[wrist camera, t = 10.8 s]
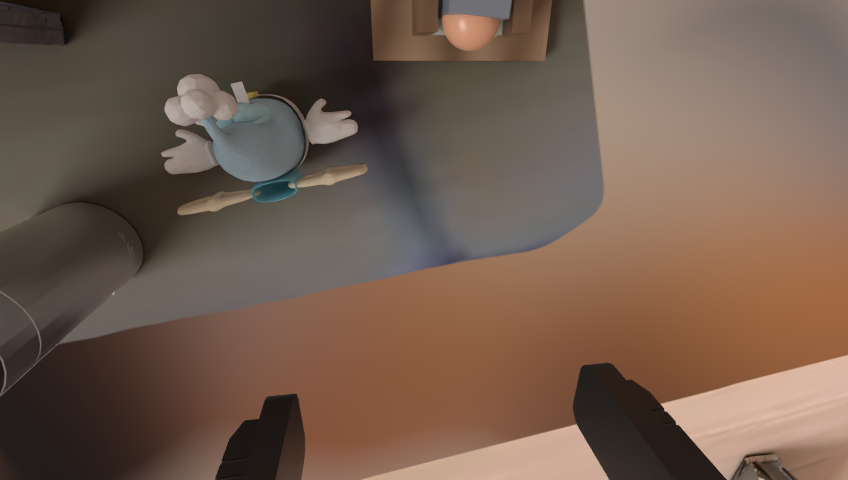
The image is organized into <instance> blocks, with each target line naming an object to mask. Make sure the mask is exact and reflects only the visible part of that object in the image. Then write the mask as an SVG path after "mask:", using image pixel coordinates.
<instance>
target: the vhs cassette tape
mask: <svg viewBox="0 0 848 480" xmlns="http://www.w3.org/2000/svg"><path fill="white" fill-rule="evenodd" d="M60 17H61V14H60V13H54V12H48V11H43V10H39V9H36V8H29V7H25V6H21V5H16V4H11V3H6V2H2V1H0V43H13V44H38V45H59V46H64V45H65V42H64V29H63V26H62V24H61V21H60Z"/></svg>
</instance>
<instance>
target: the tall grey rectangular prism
mask: <svg viewBox="0 0 848 480" xmlns="http://www.w3.org/2000/svg"><path fill="white" fill-rule="evenodd" d="M511 2H512V0H439V3H438V20H442V25H443V30H444V33H445V35H446V37H447V39H448V40H449V41H450V43H451V44H452V45H453V46H455V47H456V48H458V49H461V50H464V51H475V50H479V49H481V48H483V47H485V46H486V45H487V44H488V43H489V42H490V41H491V40H492V39H493V38H494V36H495V35H496V33H497V30H498V28H499V24H500V21H503V20H506V19H509V16H510V9H511Z"/></svg>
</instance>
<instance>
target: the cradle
mask: <svg viewBox="0 0 848 480" xmlns="http://www.w3.org/2000/svg"><path fill="white" fill-rule="evenodd" d="M370 2H371V23H372V44H373V61H545V57H546V48H547V40H548V31H549V22H550V14H551V5H552V0H512V2H511V9H510V16H509V19H506V20H503V21H500V24H499V28H498V30H497V33H496V35H495V36H494V38H493V39H492V40H491V41H490V42H489V43H488V44H487V45H486V46H485V47H483V48H481V49H479V50H475V51H464V50H461V49H458V48H456V47H455V46H453V45H452V44H451V43H450V41H449V40H448V39H447V37H446V35H445V33H444V30H443V25H442V20H438V3H439V0H370Z"/></svg>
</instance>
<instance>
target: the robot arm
mask: <svg viewBox="0 0 848 480" xmlns="http://www.w3.org/2000/svg"><path fill="white" fill-rule="evenodd" d="M142 261H143V247H142V243H141V241H140V238H139V236H138V234H137V233H136V231H135V230H134V229H133V227H132V226H131V225H130V224H129V223H128V222H127V221H126V220H125V219H124V218H122V217H121V216H119V215H118V214H116V213H115V212H113V211H111V210H109V209H107V208H104V207H102V206H98V205H95V204H90V203H83V202H76V203H67V204H63V205H59V206H57V207H55V208H53V209H51V210H48V211H46V212H44V213H42V214H40V215H37V216H35V217H33V218H31V219H29V220H26V221H24V222H22V223H20V224H17V225H15V226H13V227H11V228H9V229H6V230H4V231H2V232H0V396H1V395H2V394H3V393H4V392H6V391H7V390H8V389H9V388H10V387H11V386H12V385H13V384H14V383H15V382H17V381H18V380H19V379H20V378H21V377H22V376H23V375H24V374H25V373H26V372H28V371H29V370H30V369H31V368H32V367H33V366H34V365H35V364H36V363H37V362H38V361H40V360H41V359H42V358H43V357H44V356H45V355H46V354H47V353H48V352H49V351H51V350H52V349H53V348H54V347H55V346H56V345H57V344H58V343H59V342H61V341H62V340H63V339H64V338H65V337H66V336H67V335H68V334H69V333H70V332H72V331H73V330H74V329H75V328H76V327H77V326H78V325H79V324H80V323H82V322H83V321H84V320H85V319H86V318H87V317H88V316H89V315H90V314H91V313H93V312H94V311H95V310H96V309H97V308H98V307H99V306H100V305H101V304H102V303H104V302H105V301H106V300H107V299H108V298H109V297H110V296H111V295H113V294H114V293H115V292H116V291H117V290H118V289H119V288H120V287H121V286H122V285H124V284H125V283H126V282H127V281H128V280H129V279H130V278H131V277H132V276H133V275H135V274H136V272H137V271H138V270H139V268H140V266H141V264H142ZM573 412H574V417H575V420H576V423H577V425H578V427H579V429H580V431H581V432H582V434H583V436H584V438H585V439H586V441H587V443H588V444H589V446H590V448H591V449H592V451H593V453H594V454H595V456H596V458H597V460H598V461H599V463H600V465H601V466H602V468H603V470H604V471H605V473H606V475H607V476H608V478H609V480H726V478H725V477H724V476H723V475H722V474H721V473H720V472H719V471H718V470H717V468H716V467H715V466H714V465H713V464H712V463H711V462H710V460H709V459H708V458H707V457H706V456H705V455H704V454H703V452H702V451H701V450H700V449H699V448H698V447H697V446H696V444H695V443H694V442H693V441H692V440H691V439H690V438H689V436H688V435H687V434H686V433H685V432H684V431H683V430H682V428H681V427H680V426H679V425H676V422H675V420H674V419H673V418H672V417H671V416H670V415H669V414H668V412H665V411H664V408H663V407H662V405H661V404H660V403H659V402H658V401H657V400H656V399H655V397H654V396H653V395H652V394H651V393H650V392H649V391H647V390H646V389H644V388H643V387H641V386H640V385H638V384H637V383H636V382H634V381H633V380H625V378H624V377H623V376H622V375H621V374H620V372H619V371H618V370H617V369H616V368H615V366H614V365H612V364H611V363H602V364H591V365H584V366H582V367H581V369H580V374H579V378H578V383H577V388H576V393H575V397H574V402H573ZM304 457H305V434H304V428H303V422H302V416H301V411H300V406H299V399H298V396H297V394H288V395H278V396H269V397H267V398H266V399H265V402H264V405H263V408H262V411H261V415H260V418H259V419H256V420H246V421H244V422H243V423H242V424H241V426H240V427H239V428H238V429H237V431H236V432H235V433H234V434H233V436H232V437H231V438H230V439H229V442H228V445H227V447H226V450H225V453H224V456H223V458H222V464H221V465H220V467H219V469H218V472H217V475H216V478H215V479H216V480H301V477H302V471H303V464H304Z"/></svg>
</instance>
